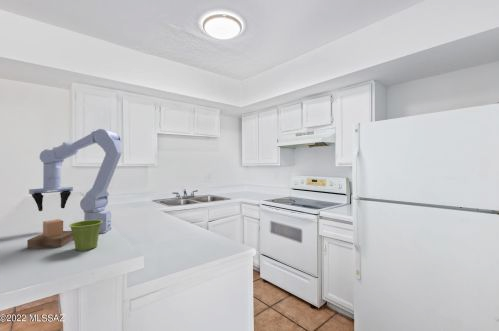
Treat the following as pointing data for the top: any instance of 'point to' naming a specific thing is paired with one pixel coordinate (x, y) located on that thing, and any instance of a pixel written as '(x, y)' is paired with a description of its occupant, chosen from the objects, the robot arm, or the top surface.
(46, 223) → the terracotta block
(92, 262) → the top surface
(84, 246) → the plant pot
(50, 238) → the walnut plinth
